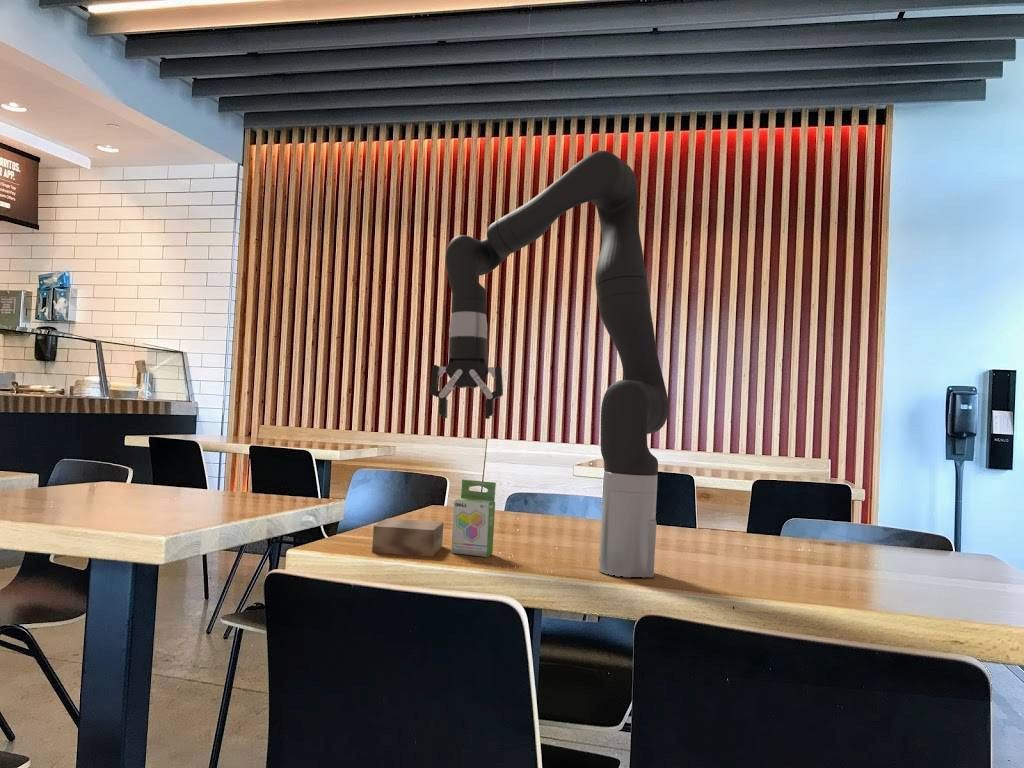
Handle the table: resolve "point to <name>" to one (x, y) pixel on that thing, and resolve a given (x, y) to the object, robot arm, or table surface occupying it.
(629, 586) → the table surface
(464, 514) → the ink box
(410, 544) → the walnut block
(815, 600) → the table surface
